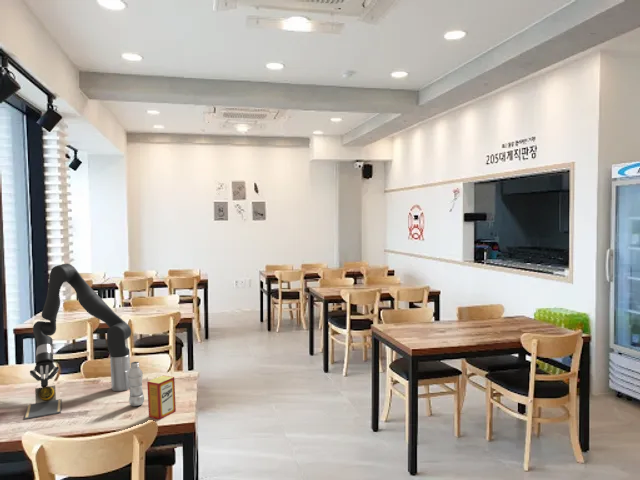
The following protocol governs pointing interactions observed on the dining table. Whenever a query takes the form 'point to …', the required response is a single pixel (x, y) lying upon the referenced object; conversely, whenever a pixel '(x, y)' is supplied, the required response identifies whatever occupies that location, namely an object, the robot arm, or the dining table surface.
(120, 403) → the dining table surface
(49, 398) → the condiment
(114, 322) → the robot arm
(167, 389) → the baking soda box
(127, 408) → the dining table surface
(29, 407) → the mat
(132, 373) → the plastic bottle
